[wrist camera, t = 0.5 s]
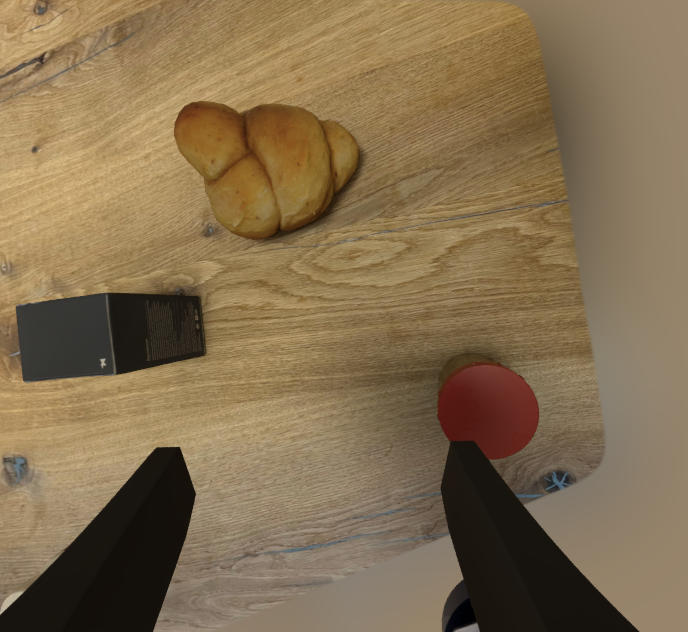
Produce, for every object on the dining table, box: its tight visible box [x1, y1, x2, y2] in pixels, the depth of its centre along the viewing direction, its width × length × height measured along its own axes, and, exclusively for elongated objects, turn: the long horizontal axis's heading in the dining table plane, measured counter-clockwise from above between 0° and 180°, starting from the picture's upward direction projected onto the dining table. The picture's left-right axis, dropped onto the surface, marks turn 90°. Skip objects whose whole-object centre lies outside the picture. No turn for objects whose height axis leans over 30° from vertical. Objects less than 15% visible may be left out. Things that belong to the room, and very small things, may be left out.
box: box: [16, 293, 205, 383], centre depth 30 cm, size 8×6×11 cm
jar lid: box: [437, 361, 539, 459], centre depth 23 cm, size 6×6×1 cm
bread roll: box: [174, 101, 359, 240], centre depth 29 cm, size 13×10×8 cm
